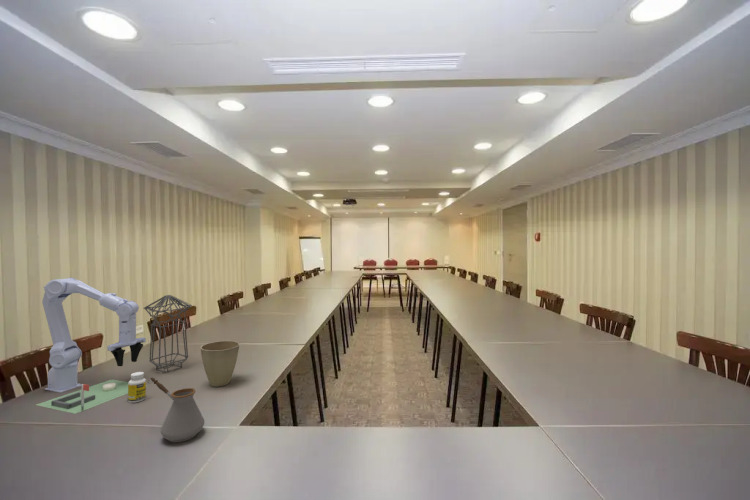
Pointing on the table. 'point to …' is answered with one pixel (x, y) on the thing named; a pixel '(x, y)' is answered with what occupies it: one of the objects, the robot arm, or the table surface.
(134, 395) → the supplement bottle
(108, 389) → the stone
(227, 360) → the plant pot
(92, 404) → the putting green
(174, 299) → the geometric lantern
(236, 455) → the table surface
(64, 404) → the grey frame
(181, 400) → the coffee pot
